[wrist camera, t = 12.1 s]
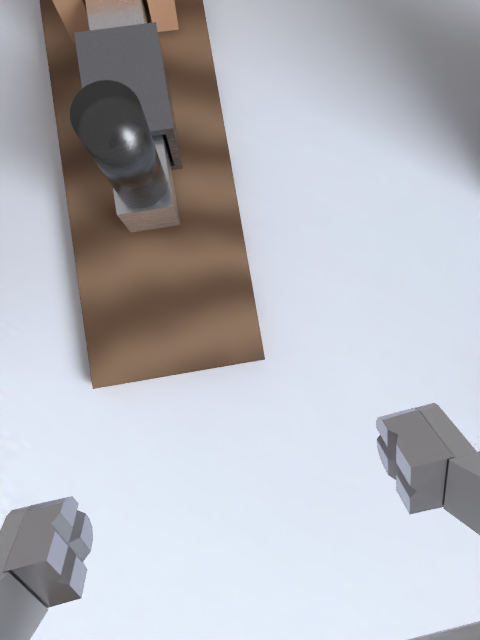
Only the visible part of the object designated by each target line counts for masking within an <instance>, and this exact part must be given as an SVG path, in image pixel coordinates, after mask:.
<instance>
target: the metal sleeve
mask: <svg viewBox="0 0 480 640" xmlns="http://www.w3.org/2000/svg"><path fill="white" fill-rule="evenodd" d="M74 36H75V43H76V50H77V57H78V64H79V71H80V78H81V85H82V88H84V87H85V86H87V85H88V84H90V83H93V82H96V81H100V80H112V81H117V82H120V83H122V84H124V85H126V86H127V87H129V88H130V89H131V90H132V91H133V92H134V93H135V94H136V96H137V97H138V99H139V101H140V104H141V107H142V109H143V112H144V115H145V118H146V121H147V124H148V127H149V130H150V133H151V136H157V135H164V134H166V139H167V146H168V152H169V158H170V164H171V170H176V169H183V167H182V161H181V155H180V148H179V142H178V136H177V130H176V124H175V118H174V112H173V106H172V99H171V93H170V87H169V81H168V76H167V71H166V67H165V62H164V57H163V53H162V48H161V43H160V39H159V34H158V29H157V25H156V22H153V23H145V24H137V25H129V26H122V27H114V28H106V29H98V30H90V31H82V32H74Z"/></svg>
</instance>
